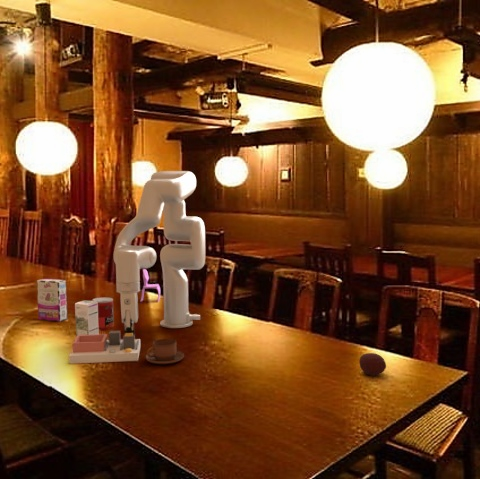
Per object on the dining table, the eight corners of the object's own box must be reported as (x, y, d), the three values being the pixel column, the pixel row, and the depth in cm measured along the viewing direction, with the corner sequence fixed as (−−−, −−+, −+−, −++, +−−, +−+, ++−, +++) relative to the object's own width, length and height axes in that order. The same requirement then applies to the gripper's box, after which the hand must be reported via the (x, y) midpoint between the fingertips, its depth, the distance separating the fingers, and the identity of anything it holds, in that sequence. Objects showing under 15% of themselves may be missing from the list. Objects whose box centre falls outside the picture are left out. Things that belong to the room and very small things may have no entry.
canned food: (109, 330, 219) (108, 301, 218) (89, 329, 221) (88, 301, 220) (117, 325, 227) (116, 297, 225) (98, 324, 228) (97, 297, 227)
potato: (381, 369, 173) (381, 349, 172) (389, 378, 164) (389, 357, 164) (356, 369, 172) (357, 349, 172) (363, 379, 164) (364, 358, 163)
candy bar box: (68, 319, 237) (66, 279, 235) (60, 322, 232) (58, 281, 231) (46, 317, 241) (44, 278, 240) (37, 319, 237) (36, 280, 235)
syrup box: (99, 341, 204) (98, 301, 203) (88, 345, 199) (87, 304, 197) (86, 339, 206) (85, 299, 205) (75, 344, 201) (74, 302, 200)
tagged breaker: (134, 346, 189) (134, 332, 188) (134, 348, 186) (133, 334, 185) (124, 346, 188) (123, 332, 188) (123, 349, 185) (123, 335, 185)
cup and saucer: (167, 369, 174) (167, 349, 173) (137, 363, 180) (137, 343, 180) (191, 359, 184) (191, 340, 183) (162, 353, 190) (162, 334, 190)
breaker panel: (140, 346, 198) (140, 330, 197) (137, 360, 182) (137, 343, 181) (77, 348, 195) (76, 332, 195) (69, 363, 180) (68, 346, 179)
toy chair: (158, 302, 268) (157, 270, 267) (139, 302, 268) (138, 270, 267) (161, 298, 276) (160, 267, 275) (142, 299, 276) (141, 267, 275)
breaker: (120, 342, 193) (120, 330, 193) (119, 344, 190) (119, 332, 190) (110, 342, 193) (109, 331, 193) (109, 345, 190) (108, 333, 190)
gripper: (138, 290, 182) (140, 347, 184) (141, 282, 197) (142, 335, 199) (114, 291, 181) (116, 348, 183) (118, 283, 196) (120, 336, 198)
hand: (129, 341), depth 191 cm, fingers closed
